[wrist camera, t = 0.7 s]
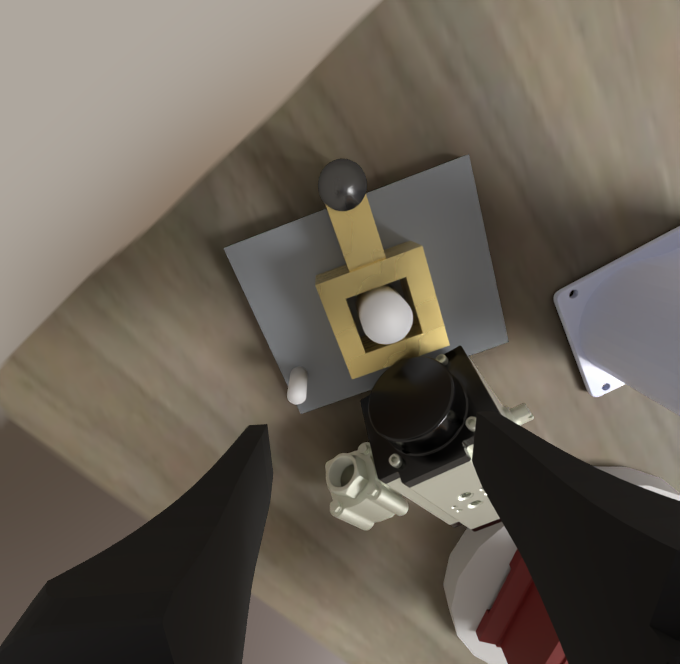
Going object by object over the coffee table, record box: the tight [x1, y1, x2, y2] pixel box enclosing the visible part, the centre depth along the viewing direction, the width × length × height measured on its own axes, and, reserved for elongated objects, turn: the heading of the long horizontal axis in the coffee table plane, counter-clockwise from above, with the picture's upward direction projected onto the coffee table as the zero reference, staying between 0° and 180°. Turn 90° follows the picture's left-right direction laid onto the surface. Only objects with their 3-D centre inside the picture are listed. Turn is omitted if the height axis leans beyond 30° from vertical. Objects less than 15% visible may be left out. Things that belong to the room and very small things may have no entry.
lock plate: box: [224, 154, 509, 414], centre depth 19 cm, size 13×10×4 cm
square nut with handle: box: [315, 159, 450, 379], centre depth 18 cm, size 5×10×3 cm, turn 20°
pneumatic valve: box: [325, 346, 534, 532], centre depth 20 cm, size 6×12×12 cm
